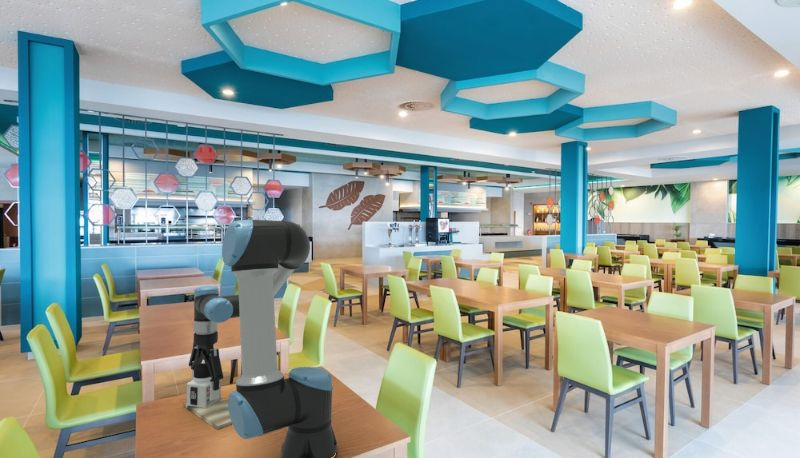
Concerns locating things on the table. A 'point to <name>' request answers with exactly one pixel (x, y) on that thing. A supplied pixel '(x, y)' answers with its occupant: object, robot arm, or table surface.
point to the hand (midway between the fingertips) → (205, 393)
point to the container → (201, 388)
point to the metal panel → (213, 414)
